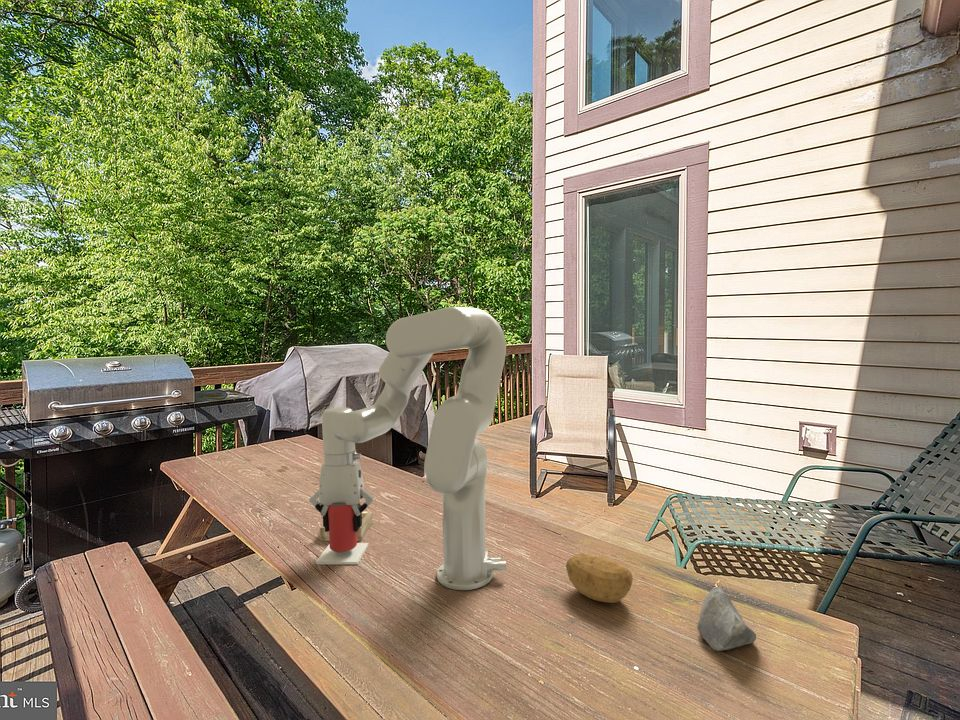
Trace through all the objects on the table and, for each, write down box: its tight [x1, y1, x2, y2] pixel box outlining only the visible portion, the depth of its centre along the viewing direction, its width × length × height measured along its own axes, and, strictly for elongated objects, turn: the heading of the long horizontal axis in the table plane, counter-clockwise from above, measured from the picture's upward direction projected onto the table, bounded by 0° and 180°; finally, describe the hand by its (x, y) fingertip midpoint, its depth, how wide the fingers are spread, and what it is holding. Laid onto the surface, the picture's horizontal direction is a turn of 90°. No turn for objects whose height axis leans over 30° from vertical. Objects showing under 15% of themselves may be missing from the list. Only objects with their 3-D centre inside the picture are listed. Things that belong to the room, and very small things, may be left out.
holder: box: [319, 511, 373, 542], centre depth 133 cm, size 11×11×4 cm
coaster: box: [315, 542, 369, 565], centre depth 120 cm, size 10×10×1 cm
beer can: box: [328, 503, 358, 552], centre depth 119 cm, size 7×7×12 cm
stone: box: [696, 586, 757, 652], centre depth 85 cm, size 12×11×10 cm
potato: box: [565, 552, 633, 604], centre depth 99 cm, size 10×14×8 cm
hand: (342, 528), depth 119 cm, fingers closed on beer can, 6 cm apart
